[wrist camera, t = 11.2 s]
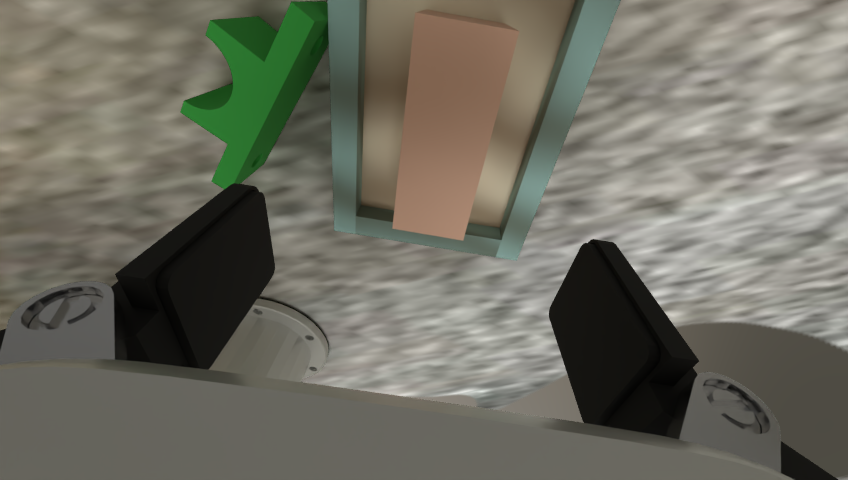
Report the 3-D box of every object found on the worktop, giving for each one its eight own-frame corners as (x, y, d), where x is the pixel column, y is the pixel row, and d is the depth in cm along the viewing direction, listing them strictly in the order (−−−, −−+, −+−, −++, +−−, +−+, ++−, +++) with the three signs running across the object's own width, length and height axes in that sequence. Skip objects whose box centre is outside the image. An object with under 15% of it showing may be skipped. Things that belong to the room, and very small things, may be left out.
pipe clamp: (282, -39, 17) (233, -51, 13) (344, 17, 18) (315, 20, 14) (213, 129, 22) (164, 154, 19) (264, 163, 24) (228, 193, 20)
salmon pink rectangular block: (505, 23, 17) (519, 31, 12) (462, 197, 22) (463, 240, 18) (426, 9, 16) (415, 12, 12) (404, 187, 22) (392, 228, 18)
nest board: (512, 239, 25) (516, 260, 23) (344, 212, 25) (334, 230, 23) (620, -53, 15) (644, -61, 13) (342, -102, 15) (323, -117, 13)
